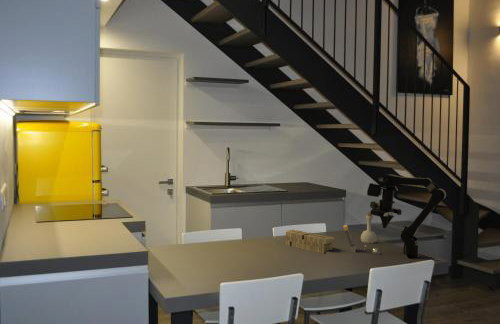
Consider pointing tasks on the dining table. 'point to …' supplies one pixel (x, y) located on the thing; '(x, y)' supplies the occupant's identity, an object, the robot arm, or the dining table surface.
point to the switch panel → (374, 251)
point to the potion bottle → (368, 232)
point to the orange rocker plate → (348, 235)
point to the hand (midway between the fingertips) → (384, 228)
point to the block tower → (309, 241)
